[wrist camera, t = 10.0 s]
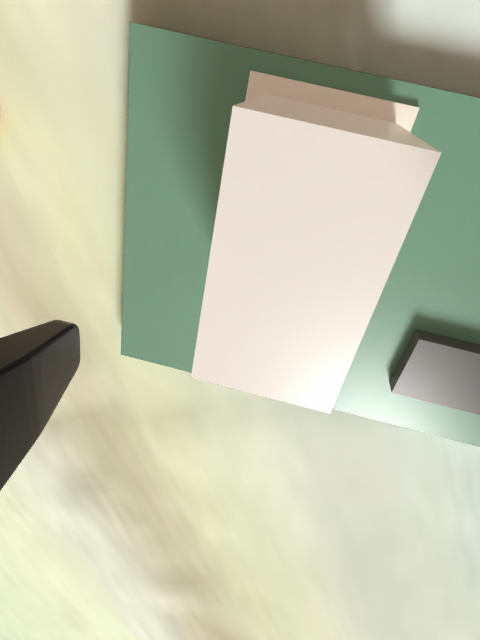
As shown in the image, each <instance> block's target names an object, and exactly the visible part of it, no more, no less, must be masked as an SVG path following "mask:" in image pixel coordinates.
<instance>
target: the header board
mask: <svg viewBox="0 0 480 640" xmlns="http://www.w3.org/2000/svg"><path fill="white" fill-rule="evenodd" d="M264 94H269V95H273V96H278V97H282V98H287V99H291V100H296V101H300V102H305V103H309V104H314V105H318V106H323V107H327V108H332V109H336V110H341V111H345V112H349V113H354V114H358V115H363V116H367V117H372V118H376V119H381V120H385V121H390V122H394V123H397V124H398V125H400V126H401V127H403V128H405V129H406V130H408V131H409V132H411V133H412V134H414V135H415V136H417V137H418V138H420V139H421V140H423V141H424V142H426V143H427V144H429V145H430V146H432V147H434V148H435V149H437V150H438V151H440V152H441V155H440V157H439V160H438V162H437V164H436V167H435V169H434V171H433V174H432V176H431V178H430V181H429V183H428V185H427V188H426V190H425V192H424V195H423V197H422V199H421V202H420V204H419V206H418V209H417V211H416V213H415V216H414V218H413V221H412V223H411V225H410V228H409V230H408V232H407V235H406V237H405V239H404V242H403V244H402V246H401V249H400V251H399V253H398V256H397V258H396V260H395V263H394V265H393V267H392V270H391V272H390V274H389V277H388V279H387V281H386V284H385V286H384V288H383V291H382V293H381V295H380V298H379V300H378V302H377V305H376V307H375V309H374V312H373V314H372V316H371V319H370V321H369V323H368V326H367V328H366V331H365V333H364V335H363V338H362V340H361V342H360V345H359V347H358V349H357V352H356V354H355V356H354V359H353V361H352V363H351V366H350V368H349V370H348V373H347V375H346V377H345V380H344V382H343V384H342V387H341V389H340V391H339V394H338V396H337V398H336V401H335V403H334V405H333V408H332V409H335V410H339V411H343V412H346V413H350V414H354V415H358V416H362V417H366V418H370V419H374V420H378V421H381V422H385V423H389V424H393V425H397V426H401V427H405V428H409V429H412V430H416V431H420V432H424V433H428V434H432V435H436V436H440V437H444V438H447V439H451V440H455V441H459V442H463V443H467V444H471V445H475V446H478V447H480V98H478V97H473V96H468V95H464V94H459V93H455V92H450V91H445V90H441V89H436V88H432V87H427V86H422V85H418V84H413V83H409V82H404V81H399V80H395V79H390V78H385V77H381V76H376V75H372V74H367V73H362V72H358V71H353V70H349V69H344V68H339V67H335V66H330V65H326V64H321V63H316V62H312V61H307V60H303V59H298V58H293V57H289V56H284V55H280V54H275V53H270V52H266V51H261V50H257V49H252V48H247V47H243V46H238V45H234V44H229V43H224V42H220V41H215V40H211V39H206V38H201V37H197V36H192V35H188V34H183V33H178V32H174V31H169V30H165V29H160V28H155V27H151V26H146V25H142V24H137V23H132V22H130V57H129V91H128V126H127V160H126V194H125V229H124V263H123V298H122V332H121V355H125V356H129V357H133V358H137V359H141V360H145V361H148V362H152V363H156V364H160V365H164V366H168V367H172V368H176V369H180V370H183V371H187V372H191V373H192V367H193V360H194V354H195V347H196V341H197V334H198V328H199V321H200V315H201V308H202V302H203V295H204V289H205V283H206V276H207V270H208V263H209V257H210V250H211V244H212V237H213V231H214V224H215V218H216V211H217V205H218V198H219V192H220V185H221V179H222V172H223V166H224V159H225V153H226V146H227V140H228V133H229V127H230V120H231V114H232V107H233V105H236V104H239V103H242V102H245V101H247V100H250V99H253V98H256V97H258V96H261V95H264Z"/></svg>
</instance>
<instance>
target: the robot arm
mask: <svg viewBox="0 0 480 640" xmlns="http://www.w3.org/2000/svg"><path fill="white" fill-rule="evenodd" d="M79 363H80V336H79V328H78V326H77V325H75V324H73V323H69V322H65V321H62V320H53V321H50V322H47V323H44V324H41V325H38V326H35V327H32V328H29V329H26V330H23V331H20V332H17V333H14V334H11V335H8V336H5V337H2V338H0V491H1V489H2V488H3V486H4V485H5V484H6V482H7V481H8V479H9V478H10V477H11V475H12V474H13V472H14V471H15V470H16V468H17V467H18V465H19V464H20V463H21V461H22V460H23V458H24V457H25V456H26V454H27V453H28V451H29V450H30V449H31V447H32V446H33V444H34V443H35V441H36V440H37V439H38V437H39V436H40V434H41V432H42V431H43V429H44V427H45V426H46V424H47V422H48V421H49V419H50V417H51V415H52V413H53V412H54V410H55V408H56V406H57V405H58V403H59V401H60V399H61V397H62V396H63V394H64V392H65V390H66V388H67V387H68V385H69V383H70V381H71V380H72V378H73V376H74V374H75V372H76V371H77V369H78V366H79Z"/></svg>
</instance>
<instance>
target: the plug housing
mask: <svg viewBox="0 0 480 640" xmlns="http://www.w3.org/2000/svg"><path fill="white" fill-rule="evenodd" d="M440 155H441V152H440V151H438V150H437V149H435V148H434V147H432V146H430V145H429V144H427V143H426V142H424V141H423V140H421V139H420V138H418V137H417V136H415V135H414V134H412V133H411V132H409V131H408V130H406V129H405V128H403V127H401V126H400V125H398V124H397V123H394V122H390V121H385V120H381V119H376V118H372V117H367V116H363V115H358V114H354V113H349V112H345V111H341V110H336V109H332V108H327V107H323V106H318V105H314V104H309V103H305V102H300V101H296V100H291V99H287V98H282V97H278V96H273V95H269V94H264V95H261V96H258V97H256V98H253V99H250V100H247V101H245V102H242V103H239V104H236V105H233V107H232V114H231V120H230V127H229V133H228V140H227V146H226V153H225V159H224V166H223V172H222V179H221V185H220V192H219V198H218V205H217V211H216V218H215V224H214V231H213V237H212V244H211V250H210V257H209V263H208V270H207V276H206V283H205V289H204V295H203V302H202V308H201V315H200V321H199V328H198V334H197V341H196V347H195V354H194V360H193V367H192V373H191V378H194V379H198V380H202V381H206V382H210V383H213V384H217V385H221V386H225V387H229V388H233V389H237V390H241V391H244V392H248V393H252V394H256V395H260V396H264V397H268V398H272V399H275V400H279V401H283V402H287V403H291V404H295V405H299V406H302V407H306V408H310V409H314V410H318V411H322V412H326V413H330V412H331V410H332V408H333V405H334V403H335V401H336V398H337V396H338V394H339V391H340V389H341V387H342V384H343V382H344V380H345V377H346V375H347V373H348V370H349V368H350V366H351V363H352V361H353V359H354V356H355V354H356V352H357V349H358V347H359V345H360V342H361V340H362V338H363V335H364V333H365V331H366V328H367V326H368V323H369V321H370V319H371V316H372V314H373V312H374V309H375V307H376V305H377V302H378V300H379V298H380V295H381V293H382V291H383V288H384V286H385V284H386V281H387V279H388V277H389V274H390V272H391V270H392V267H393V265H394V263H395V260H396V258H397V256H398V253H399V251H400V249H401V246H402V244H403V242H404V239H405V237H406V235H407V232H408V230H409V228H410V225H411V223H412V221H413V218H414V216H415V213H416V211H417V209H418V206H419V204H420V202H421V199H422V197H423V195H424V192H425V190H426V188H427V185H428V183H429V181H430V178H431V176H432V174H433V171H434V169H435V167H436V164H437V162H438V160H439V157H440Z"/></svg>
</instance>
